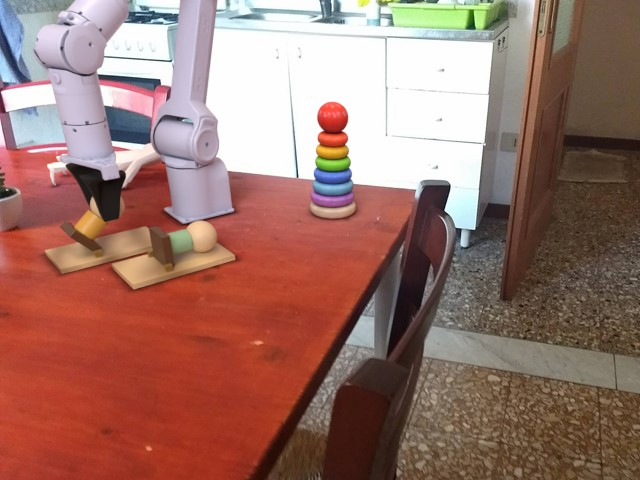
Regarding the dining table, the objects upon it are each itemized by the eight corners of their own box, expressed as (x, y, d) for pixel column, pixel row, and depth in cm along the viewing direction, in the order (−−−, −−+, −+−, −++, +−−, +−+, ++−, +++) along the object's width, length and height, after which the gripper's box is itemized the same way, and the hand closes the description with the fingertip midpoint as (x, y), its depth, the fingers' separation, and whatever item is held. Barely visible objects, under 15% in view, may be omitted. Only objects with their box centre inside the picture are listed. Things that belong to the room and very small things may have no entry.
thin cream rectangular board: (211, 242, 98) (209, 232, 97) (235, 259, 93) (234, 249, 92) (112, 268, 90) (110, 257, 89) (133, 289, 84) (131, 278, 84)
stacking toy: (345, 223, 106) (343, 109, 97) (302, 216, 108) (296, 104, 99) (362, 207, 113) (362, 100, 104) (321, 201, 115) (317, 95, 106)
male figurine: (52, 202, 117) (188, 178, 118) (38, 170, 114) (178, 146, 115) (74, 178, 129) (197, 157, 130) (62, 149, 126) (188, 128, 127)
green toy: (210, 242, 96) (206, 213, 94) (224, 252, 93) (221, 222, 91) (153, 257, 91) (148, 227, 89) (166, 268, 88) (161, 237, 86)
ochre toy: (124, 198, 96) (99, 179, 92) (135, 207, 93) (110, 188, 89) (86, 243, 95) (59, 226, 91) (96, 254, 92) (69, 236, 88)
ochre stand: (146, 230, 102) (144, 220, 101) (166, 246, 96) (165, 236, 96) (45, 254, 93) (42, 244, 92) (62, 274, 88) (59, 263, 87)
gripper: (37, 114, 88) (61, 206, 95) (69, 136, 79) (93, 236, 85) (89, 107, 92) (109, 196, 99) (126, 128, 83) (145, 224, 89)
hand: (105, 214), depth 92 cm, fingers closed on ochre toy, 4 cm apart
